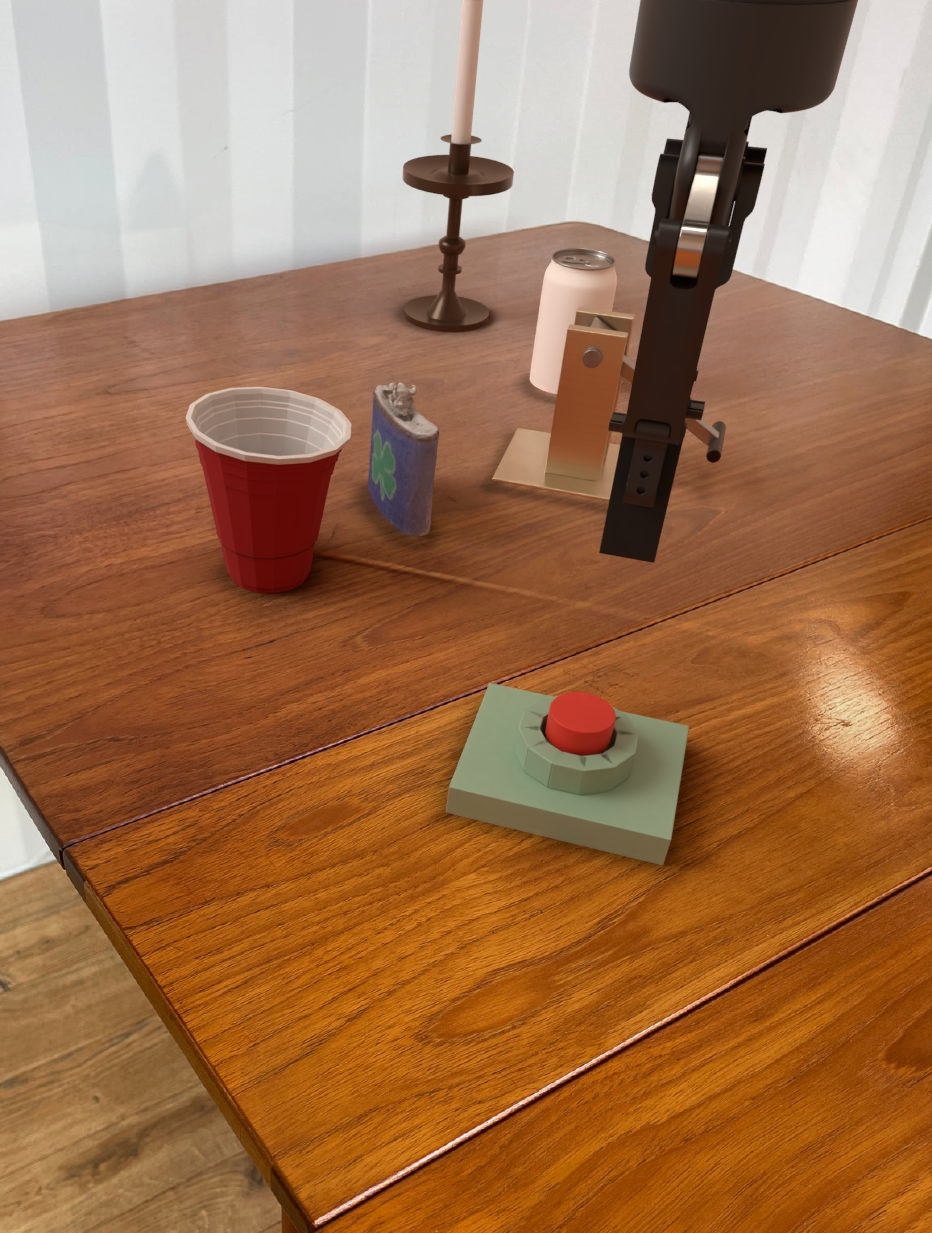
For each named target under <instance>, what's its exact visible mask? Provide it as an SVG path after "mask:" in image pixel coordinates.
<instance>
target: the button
mask: <svg viewBox="0 0 932 1233" xmlns="http://www.w3.org/2000/svg"><path fill="white" fill-rule="evenodd" d="M557 696H558V697H556V698H555V699H554V700H553V701H552V703H551V705H550V709H549V714H548V719H547V725H546V730H545V733H546V737H547V739H548V741H549V742H550V744H551V745H553V746H554V747H556V748H557V749H559V750H560V751H562V752H566V753H570V754H575V755H579V756H587V755H595V754H600V753H602V752H603V751H604V750H606V749H607V747H608V746H609V744H610V741H611V737H612V733H613V728H614V724H615V720H616V714H615V711H614V709H613V707H614V706H613V705H611V703H610V702H608V701H607V699H604V698H602V697H601V696H598V695H596V694H593V693H589V692H585V691H584V692H583V691H569V692H566V693H562V694H560V695H557ZM612 706H613V707H612Z"/></svg>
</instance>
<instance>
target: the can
mask: <svg viewBox="0 0 932 1233" xmlns="http://www.w3.org/2000/svg"><path fill="white" fill-rule="evenodd" d="M616 264H617V259H616V258H615V257H614V256H613V255H611V254H610V253H607V252H605V251H601V250H598V249H593V248H584V247H568V248H567V247H566V248H562V249H557V250H555V251H554V252H553V253H552V254H551V261H550V263H549V265H548V266H547V267H546V270H545V272H544V275H543V281H542V287H541V293H540V300H539V308H538V315H537V320H536V321H537V322H536V329H535V336H534V342H533V350H532V357H531V363H530V364H531V365H530V371H529V382H530V383H531V385H533V386H534V387H535V388H537V389H539V390H540V391H543V392H546V393H548V394H554V395H557V392H558V385H559V379H560V373H561V367H562V360H563V354H564V348H565V341H566V335H567V329H568V327H569V325H570V324H572V325H574V323H575V317H576V311H577V309H578V307H584V308H591V309H598V310H605V311H612V312H613V308H614V302H615V297H616V292H617V284H618V277H617V272H616V268H615V266H616Z"/></svg>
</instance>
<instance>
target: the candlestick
mask: <svg viewBox="0 0 932 1233" xmlns="http://www.w3.org/2000/svg"><path fill="white" fill-rule="evenodd" d="M461 2H462V3H461V14H460V25H459V26H460V27H459V38H458V51H457V52H458V53H457V63H456V64H457V65H456V77H455V88H454V89H455V90H454V102H453V113H452V114H453V115H452V128H451V134H450V133H449V134H445V135H442V136H440V140H441V141H442V142H444V143H448V144H449V151H448V154H433V155H423V156H419V157H415V158H412V159H409V160H407V161H406V162H404V164H403V166H402V182H403V183H404V184H406V185H407V186H409V187H411V188H413V189H416V190H418V191H422V192H426V193H430V194H436V195H441V196H443V197H444V198H446V199H448V210H447V221H446V222H447V223H446V234H445V235H444V236H442V237H441V238H440V239H439V240H438V244H437V245H438V248H439V252H440V253H441V254H443V258H442V259H443V260H442V264H439V265H438V267H437V268H438V269H437V272H439V273H440V274H442V281H441V283H442V284H441V290H440V292H439V293H438V294H435V295H425V296H424V295H423V296H420V297H415V298H412V299H410V300H409V301H407V302H406V303H405V304H404V307H403V318H404V319H405V320H406V321H407V322H408V323H409V324H411V325H413V326H415V327H417V328H420V329H424V330H428V331H433V332H438V333H439V332H441V333H464V332H470V331H475V330H478V329H481V328H482V327H484V326H486V325H487V324H488V322H489V317H490V311H489V308H488V307H487V306H486V305H484V304H483V303H481V302H479V301H477V300H474V299H471V298H467V297H464V296H458V294H457V292H456V282H457V281H456V279H457V275H460V274H461V273H462V272H463V270H462V269H463V268H462V265H459V256H460V255H462V254H463V252H464V251H465V249H466V246H467V242H466V240H465V239H464V238H463V237H462V236H460V233H461V223H462V210H463V200H466V199H469V198H470V197H484V196H485V197H486V196H491V195H497V194H500V193H504V192H507V191H508V190H510V189H511V188H512V187H513V184H514V183H513V182H514V174H515V171H514V169H513V168H512V167H511V166H509V165H508V164H506V163H503V162H501V161H498V160H494V159H491V158H488V157H481V156H476V155H475V156H473V155H471V153H472V145H476V144H480V143H482V141H483V139H482V138H480V137H478V136H475V135H472V130H473V129H472V128H473V119H474V109H475V108H474V107H475V96H476V88H477V87H476V86H477V85H476V84H477V75H478V64H479V63H478V62H479V53H480V42H481V31H482V19H483V9H484V8H483V7H484V0H462V1H461Z"/></svg>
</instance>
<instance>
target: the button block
mask: <svg viewBox="0 0 932 1233" xmlns="http://www.w3.org/2000/svg"><path fill="white" fill-rule="evenodd" d="M558 696H559V695H547V694H545V693H539V692H534V691H531V690H525V689H521V688H517V687H512V686H508V685H507V686H506V685H502V684H498V683H493V682H489V683H488V684H487V688H486V690H485V693H484V696H483V699H482V700H481V702H480V706H479V708H478V711H477V714H476V716H475V719H474V721H473V724H472V726H471V728H470V732H469V734H468V737H467V739H466V741H465V745H464V747H463V749H462V753H461V755H460V757H459V760H458V763H457V765H456V767H455V770H454V773H453V775H452V778H451V780H450V783H449V785H448V790H447V799H446V809H445V813H447V814H450V815H454V816H458V817H461V818H467V819H470V820H474V821H479V822H483V823H487V824H491V825H496V826H499V827H503V828H508V829H512V830H515V831H520V832H523V833H528V834H532V835H537V836H540V837H545V838H549V839H553V840H557V841H562V842H565V843H569V844H573V845H577V846H581V847H586V848H590V849H593V850H598V851H601V852H606V853H609V854H614V855H618V856H622V857H627V858H630V859H634V860H638V861H642V862H647V863H652V864H655V865H659V866H664V865H665V862H666V858H667V855H668V852H669V850H670V849H669V848H670V845H671V842H672V837H673V832H674V825H675V820H676V813H677V807H678V800H679V794H680V788H681V781H682V775H683V768H684V762H685V755H686V750H687V744H688V737H689V736H688V735H689V730H690V726H689V725H687V724H683V723H677V722H673V721H670V720H669V721H668V720H665V719H660V718H659V719H658V718H654V717H650V716H645V715H640V714H636V713H631V712H626V711H623V710H619V709H617V708H616V707H614V706H613V705H611V706H612V707H613V709H614V711H615V714H616V720H615V724H614V728H613V733H612V737H611V741H610V744H609V746H608V747H607V749H606V750H604V751H603V752H602V753H600V754H595V755H587V756H579V755H575V754H570V753H566V752H562V751H560V750H559V749H557V748H556V747H554V746H553V745H551V744H550V742H549V741H548V739H547V737H546V733H545V730H546V725H547V719H548V714H549V709H550V705H551V703H552V701H553V700H554V699H555V698H556V697H558Z"/></svg>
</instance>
